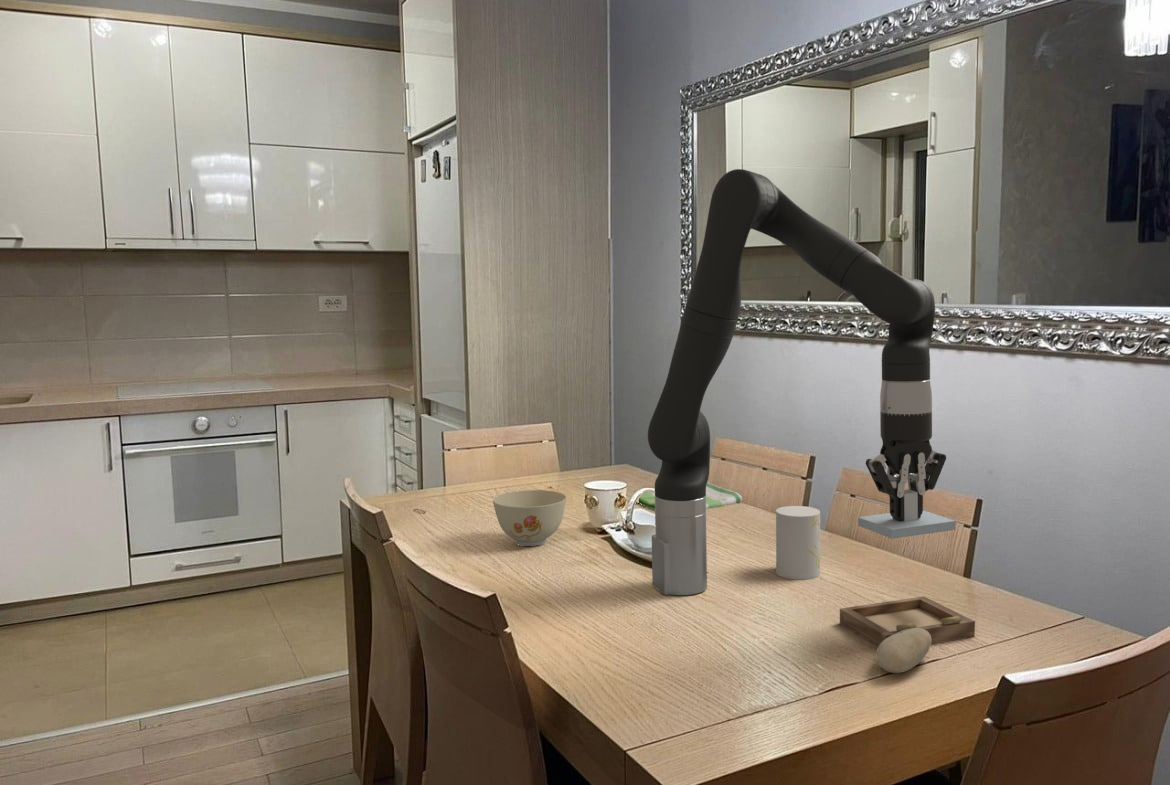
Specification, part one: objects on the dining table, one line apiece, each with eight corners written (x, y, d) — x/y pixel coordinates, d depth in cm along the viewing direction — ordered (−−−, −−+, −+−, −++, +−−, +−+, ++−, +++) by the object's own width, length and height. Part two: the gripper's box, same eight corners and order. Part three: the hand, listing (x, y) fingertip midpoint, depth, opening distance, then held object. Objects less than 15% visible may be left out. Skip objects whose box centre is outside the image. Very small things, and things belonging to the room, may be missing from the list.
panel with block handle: (892, 538, 133) (891, 500, 132) (858, 525, 141) (858, 490, 140) (955, 529, 136) (955, 492, 136) (919, 517, 144) (919, 482, 144)
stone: (864, 658, 123) (886, 608, 133) (882, 696, 124) (903, 644, 133) (903, 654, 120) (924, 604, 129) (922, 693, 121) (941, 640, 130)
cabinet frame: (885, 651, 132) (885, 629, 131) (839, 622, 143) (839, 602, 143) (974, 636, 136) (975, 615, 136) (923, 610, 148) (924, 590, 147)
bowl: (481, 549, 190) (479, 504, 188) (514, 530, 204) (513, 488, 203) (549, 556, 184) (547, 509, 182) (578, 536, 198) (577, 492, 197)
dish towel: (744, 504, 225) (744, 491, 225) (668, 517, 214) (668, 503, 214) (704, 492, 240) (704, 479, 240) (631, 503, 229) (631, 490, 229)
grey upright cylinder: (821, 580, 164) (821, 517, 163) (776, 578, 166) (776, 515, 164) (818, 566, 172) (818, 506, 171) (776, 565, 174) (775, 505, 172)
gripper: (882, 415, 131) (883, 529, 133) (960, 407, 135) (960, 519, 137) (852, 409, 138) (853, 518, 140) (927, 403, 142) (927, 508, 144)
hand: (906, 518), depth 138 cm, fingers closed on panel with block handle, 2 cm apart
